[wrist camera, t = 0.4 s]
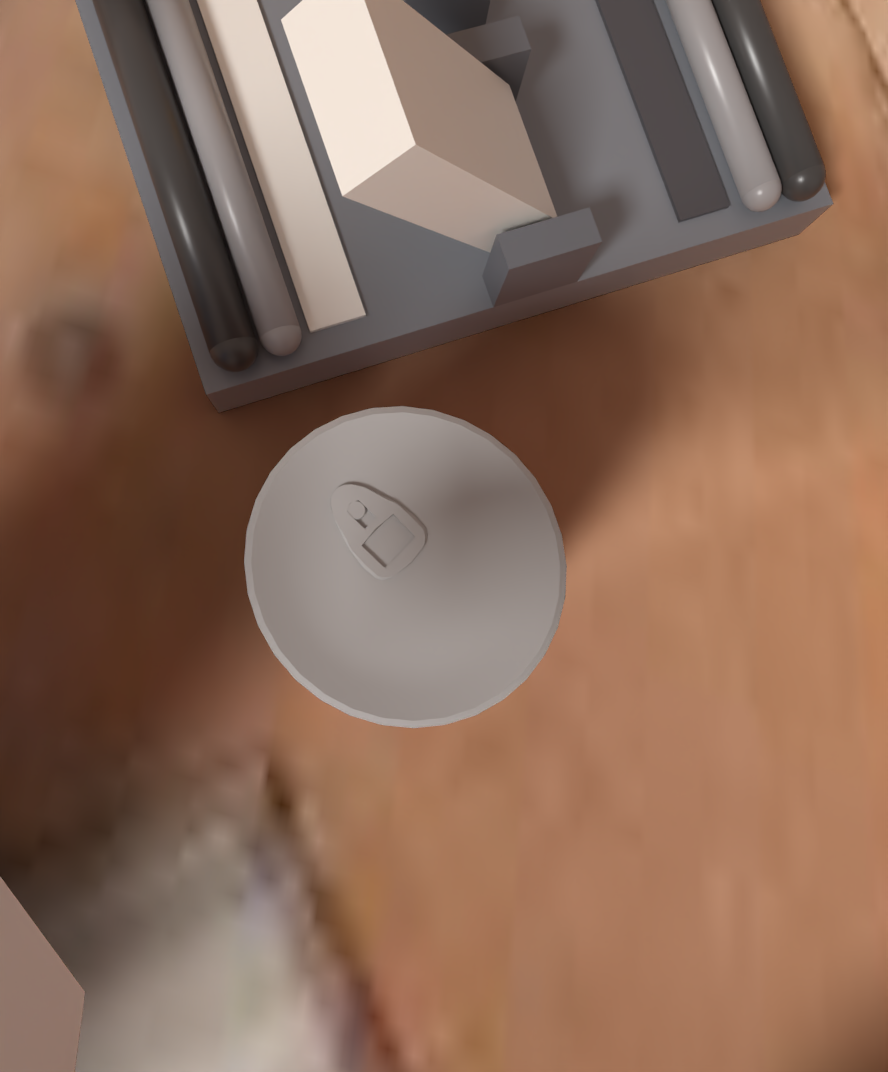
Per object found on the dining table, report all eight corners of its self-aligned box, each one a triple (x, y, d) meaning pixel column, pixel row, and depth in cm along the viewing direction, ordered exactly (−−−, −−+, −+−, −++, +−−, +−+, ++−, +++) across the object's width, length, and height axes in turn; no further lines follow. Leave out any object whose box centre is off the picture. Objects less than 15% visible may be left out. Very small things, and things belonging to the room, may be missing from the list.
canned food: (347, 441, 31) (339, 345, 20) (534, 545, 31) (626, 505, 20) (243, 623, 30) (175, 625, 19) (437, 729, 30) (479, 790, 19)
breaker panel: (798, 234, 34) (886, 156, 28) (218, 412, 31) (186, 366, 25) (645, -164, 35) (700, -316, 29) (72, -29, 32) (9, -169, 26)
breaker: (568, 226, 28) (415, 144, 20) (509, 259, 30) (342, 196, 21) (519, 93, 29) (349, -42, 20) (463, 132, 30) (280, 19, 22)
